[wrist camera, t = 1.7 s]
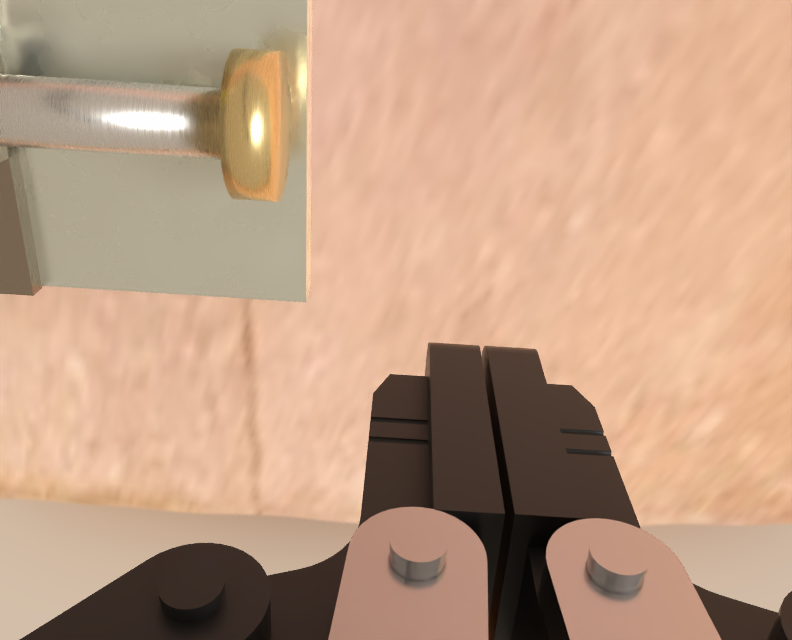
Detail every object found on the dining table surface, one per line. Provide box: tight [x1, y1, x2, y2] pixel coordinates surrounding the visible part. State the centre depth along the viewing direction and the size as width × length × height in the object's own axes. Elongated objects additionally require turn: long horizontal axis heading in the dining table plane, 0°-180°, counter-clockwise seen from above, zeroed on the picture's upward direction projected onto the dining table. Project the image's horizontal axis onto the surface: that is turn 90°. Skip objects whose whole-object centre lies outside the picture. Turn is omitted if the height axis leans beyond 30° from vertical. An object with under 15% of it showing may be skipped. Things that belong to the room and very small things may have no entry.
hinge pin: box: [0, 48, 292, 202], centre depth 25 cm, size 5×16×5 cm, turn 87°
